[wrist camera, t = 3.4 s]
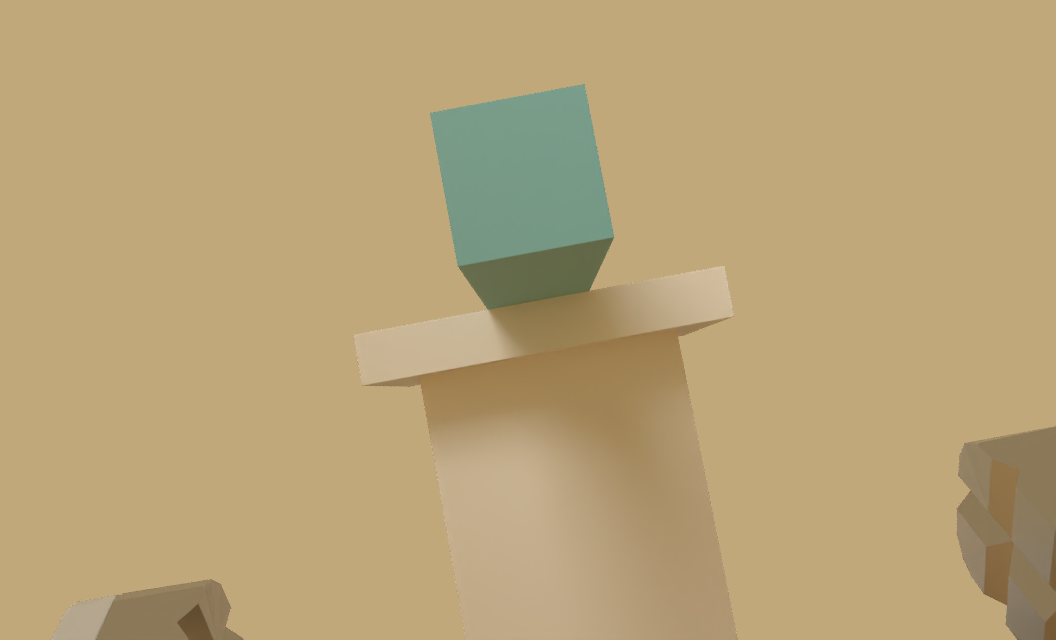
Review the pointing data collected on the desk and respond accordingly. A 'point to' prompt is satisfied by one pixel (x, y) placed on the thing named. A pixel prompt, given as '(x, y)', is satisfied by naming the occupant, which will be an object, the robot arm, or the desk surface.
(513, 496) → the stand
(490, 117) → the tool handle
